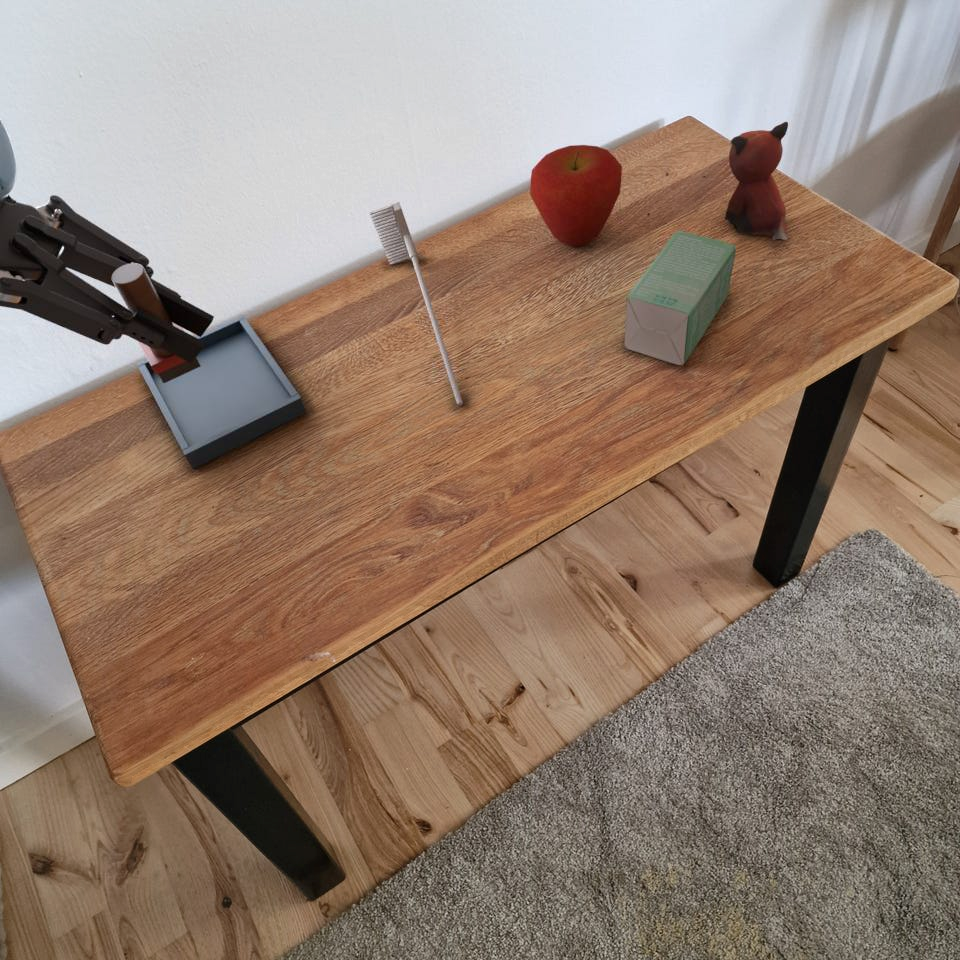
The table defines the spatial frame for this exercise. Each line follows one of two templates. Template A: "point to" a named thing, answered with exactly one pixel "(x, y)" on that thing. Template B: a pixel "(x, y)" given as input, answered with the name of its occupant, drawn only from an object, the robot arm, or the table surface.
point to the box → (678, 297)
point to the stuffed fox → (757, 183)
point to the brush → (407, 251)
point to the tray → (225, 393)
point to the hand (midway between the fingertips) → (202, 339)
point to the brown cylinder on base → (143, 295)
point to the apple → (576, 191)
